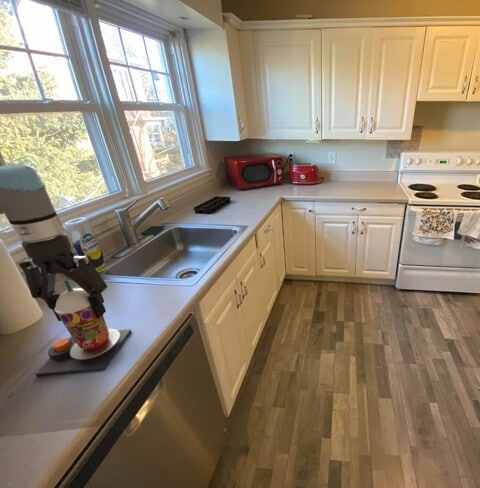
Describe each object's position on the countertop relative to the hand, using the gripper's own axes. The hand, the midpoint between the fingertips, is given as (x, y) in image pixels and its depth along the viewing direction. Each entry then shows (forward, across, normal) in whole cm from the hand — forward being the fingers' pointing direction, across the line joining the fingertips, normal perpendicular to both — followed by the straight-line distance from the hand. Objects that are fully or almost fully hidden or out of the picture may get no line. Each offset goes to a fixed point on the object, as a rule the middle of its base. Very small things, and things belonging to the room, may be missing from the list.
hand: (82, 315), depth 72 cm
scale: (+13, -3, 0) cm, 13 cm away
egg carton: (+13, 0, +129) cm, 130 cm away
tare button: (+10, -9, 0) cm, 13 cm away
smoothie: (+10, 0, 0) cm, 10 cm away
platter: (+10, 0, 0) cm, 10 cm away
